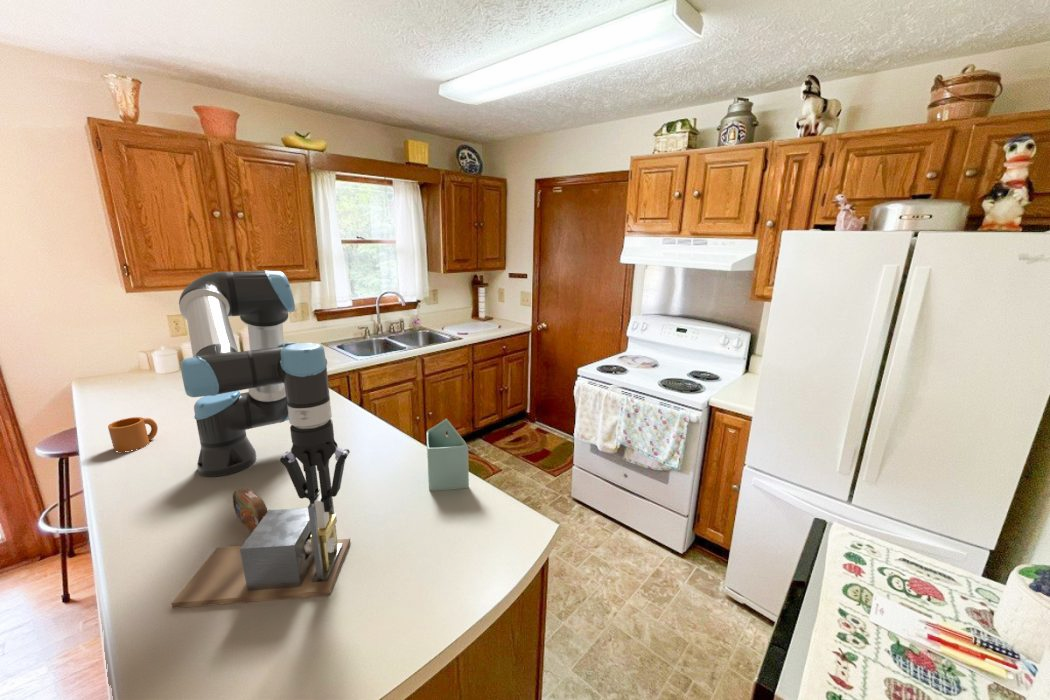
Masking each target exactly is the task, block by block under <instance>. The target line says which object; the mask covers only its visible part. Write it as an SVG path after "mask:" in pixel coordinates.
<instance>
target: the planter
mask: <svg viewBox="0 0 1050 700" xmlns="http://www.w3.org/2000/svg"><path fill="white" fill-rule="evenodd" d="M446 433H447V434H446ZM426 455H427V474H428V475H427V477H428V478H427V479H428V481H427V482H428V490H429V491H430V492H431V491H432V492H435V491H451V490H460V489H461V490H462V489H463V490H464V489H469V487H470V485H469V484H470V483H469V482H470V479H469V475H470V474H469V473H470V471H469V469H470V468H469V446H468V444H467V443H466V441H465V440H464V438H462V436H461V435H460V433H459V432H458V430H457V429H456V428H455V427H454V426H453V425H452V423H451V422H450V421H449V420H448V419H447V418H445V419H443V420H442V421H440V422H439V423H438V424H435V425H434V426H433V427H431V428H429V429H427V431H426Z"/></svg>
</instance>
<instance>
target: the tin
mask: <svg viewBox="0 0 1050 700" xmlns="http://www.w3.org/2000/svg"><path fill="white" fill-rule="evenodd" d="M232 503H233V508H234V511H235V514H236V517H237V519H238V520H239V522H240V523H242V525H244V526H245V528H247V529H248V531H249V532H250V533H252V532H253V531H254V529H255V528H256V527H257V525H258V524H259V523H260V521H261V520H262V519H263V517H264V516H265V515H266V514H267V512H268V511H269V510H268V508H267V505H266V503H265V502H264V500H263V499H262V498H261V497H260V496H259V495H258V494H256V493H255V492H254V491H253V490H251V488H248V487H245V488H244V487H243V488H241V489H239V490H235V491H234V492H233V494H232Z"/></svg>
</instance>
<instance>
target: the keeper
mask: <svg viewBox="0 0 1050 700" xmlns="http://www.w3.org/2000/svg"><path fill="white" fill-rule="evenodd" d="M337 520H338V519H337V514H336V513H334V514H331V515H329V522H328V524H327V526H326V528H320V529H318V531H319V539H320V547H321V556H322V564H323V571H328V569H329V560H328V552H327V541H328V539H329V538H334V539H335V547H334V550H333V552H336V550H337V540H338V538H337V539H336V534H337V529H336V530H335V525H336V524H337V522H338V521H337ZM310 538H311V544H313V543H312V536H310Z"/></svg>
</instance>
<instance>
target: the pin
mask: <svg viewBox="0 0 1050 700" xmlns="http://www.w3.org/2000/svg"><path fill="white" fill-rule="evenodd" d="M334 547H335V539H334V538H329V539H328V541H327V552H328V553H332V552H333V550H334ZM304 550H305V555H307V554H314V551H313V544H311V539H306V540H305V542H304Z"/></svg>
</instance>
